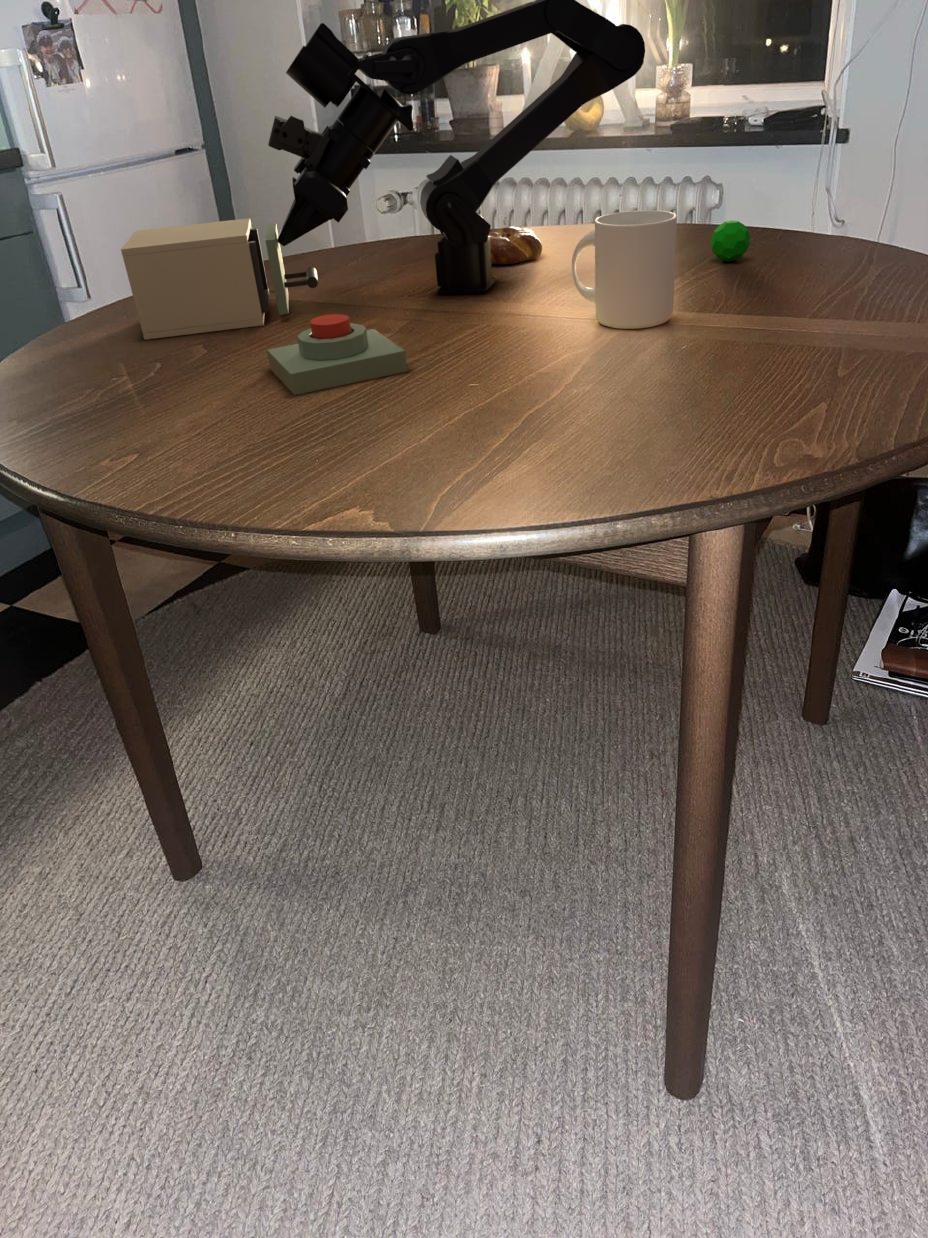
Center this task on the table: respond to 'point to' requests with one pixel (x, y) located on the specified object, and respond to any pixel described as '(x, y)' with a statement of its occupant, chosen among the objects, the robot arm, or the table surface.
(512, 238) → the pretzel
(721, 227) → the polyhedron
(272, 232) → the drawer
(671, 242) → the mug
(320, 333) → the button
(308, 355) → the control block
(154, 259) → the tan box with sleeve
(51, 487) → the table surface
